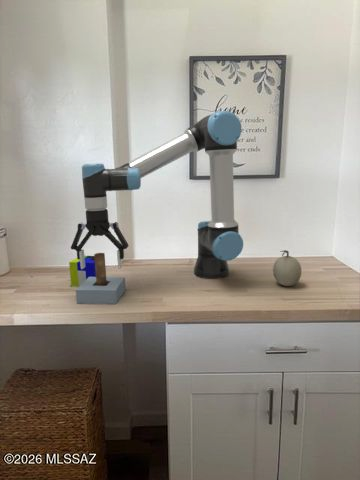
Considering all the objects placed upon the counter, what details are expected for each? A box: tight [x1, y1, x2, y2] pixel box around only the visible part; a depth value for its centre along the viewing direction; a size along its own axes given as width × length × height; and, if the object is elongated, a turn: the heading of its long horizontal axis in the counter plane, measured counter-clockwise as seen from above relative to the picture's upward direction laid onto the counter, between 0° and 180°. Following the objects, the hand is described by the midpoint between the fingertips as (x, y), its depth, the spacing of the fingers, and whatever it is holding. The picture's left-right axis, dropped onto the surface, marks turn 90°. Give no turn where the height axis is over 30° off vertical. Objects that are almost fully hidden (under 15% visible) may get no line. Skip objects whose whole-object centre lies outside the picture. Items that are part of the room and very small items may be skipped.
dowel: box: [93, 252, 107, 286], centre depth 126 cm, size 4×4×16 cm
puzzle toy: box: [68, 255, 96, 287], centre depth 142 cm, size 10×10×10 cm
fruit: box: [272, 249, 302, 287], centre depth 136 cm, size 10×12×15 cm
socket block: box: [75, 276, 126, 305], centre depth 128 cm, size 14×14×5 cm
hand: (101, 267), depth 126 cm, fingers open, 13 cm apart
